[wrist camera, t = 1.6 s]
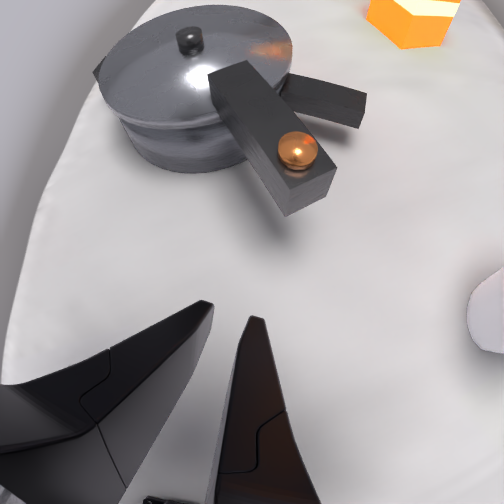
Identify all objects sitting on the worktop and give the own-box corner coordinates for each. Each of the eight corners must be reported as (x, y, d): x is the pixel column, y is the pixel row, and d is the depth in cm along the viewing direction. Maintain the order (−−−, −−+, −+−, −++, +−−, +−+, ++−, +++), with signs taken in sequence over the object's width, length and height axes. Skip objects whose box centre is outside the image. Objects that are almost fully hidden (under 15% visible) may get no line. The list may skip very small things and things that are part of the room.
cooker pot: (337, 213, 25) (357, 173, 19) (81, 153, 27) (52, 117, 21) (359, 89, 29) (372, 46, 23) (147, 55, 31) (135, 17, 26)
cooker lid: (177, 278, 17) (150, 253, 13) (91, 57, 23) (75, 23, 19) (402, 164, 19) (429, 122, 14) (237, 1, 25) (235, -34, 21)
